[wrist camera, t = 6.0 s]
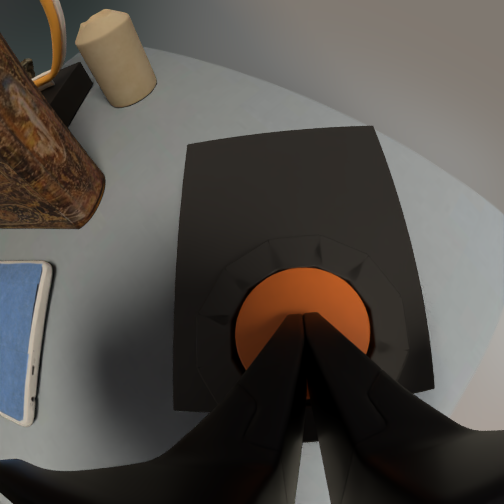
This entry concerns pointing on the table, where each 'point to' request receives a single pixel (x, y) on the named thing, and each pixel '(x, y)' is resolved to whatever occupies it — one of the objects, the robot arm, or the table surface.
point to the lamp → (65, 80)
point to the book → (40, 158)
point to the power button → (299, 309)
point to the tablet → (21, 335)
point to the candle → (116, 57)
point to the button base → (291, 250)
